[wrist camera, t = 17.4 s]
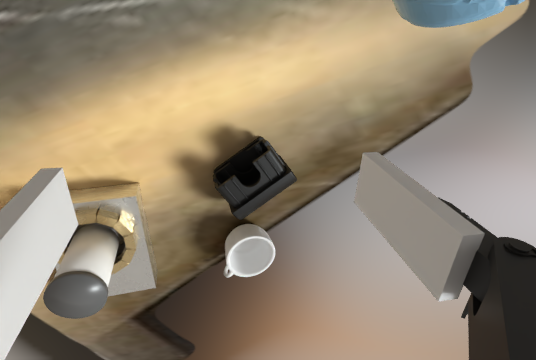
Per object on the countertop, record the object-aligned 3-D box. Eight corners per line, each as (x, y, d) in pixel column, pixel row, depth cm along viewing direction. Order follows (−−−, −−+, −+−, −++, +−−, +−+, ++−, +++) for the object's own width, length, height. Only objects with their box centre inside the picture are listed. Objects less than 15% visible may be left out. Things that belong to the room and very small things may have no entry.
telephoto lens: (65, 226, 41) (35, 282, 32) (115, 220, 42) (99, 271, 34) (78, 263, 44) (53, 323, 35) (124, 255, 45) (112, 311, 36)
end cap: (236, 204, 51) (244, 227, 45) (209, 172, 48) (213, 194, 42) (288, 167, 51) (302, 186, 45) (264, 133, 47) (276, 149, 41)
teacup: (242, 209, 52) (248, 227, 47) (276, 230, 55) (285, 249, 51) (204, 252, 54) (206, 274, 49) (239, 270, 57) (245, 292, 52)
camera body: (43, 193, 43) (27, 215, 38) (139, 182, 46) (134, 201, 41) (76, 283, 50) (66, 311, 45) (157, 270, 53) (155, 294, 48)
